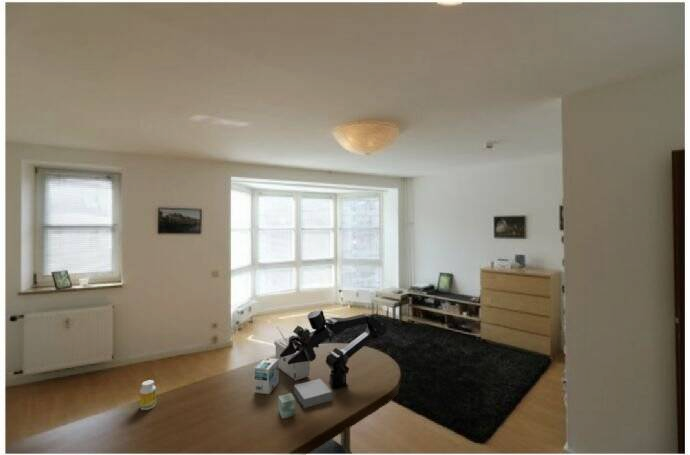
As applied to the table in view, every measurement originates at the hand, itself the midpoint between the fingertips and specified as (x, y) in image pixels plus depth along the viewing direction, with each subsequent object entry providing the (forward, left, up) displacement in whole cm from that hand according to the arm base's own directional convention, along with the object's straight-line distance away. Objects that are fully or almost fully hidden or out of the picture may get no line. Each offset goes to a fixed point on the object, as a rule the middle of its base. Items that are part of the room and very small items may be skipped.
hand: (284, 359), depth 130 cm
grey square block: (-12, +2, -18) cm, 21 cm away
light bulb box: (+3, -14, -18) cm, 23 cm away
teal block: (+1, +8, -17) cm, 19 cm away
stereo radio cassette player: (-11, -23, -18) cm, 31 cm away
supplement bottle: (+48, -21, -18) cm, 56 cm away
